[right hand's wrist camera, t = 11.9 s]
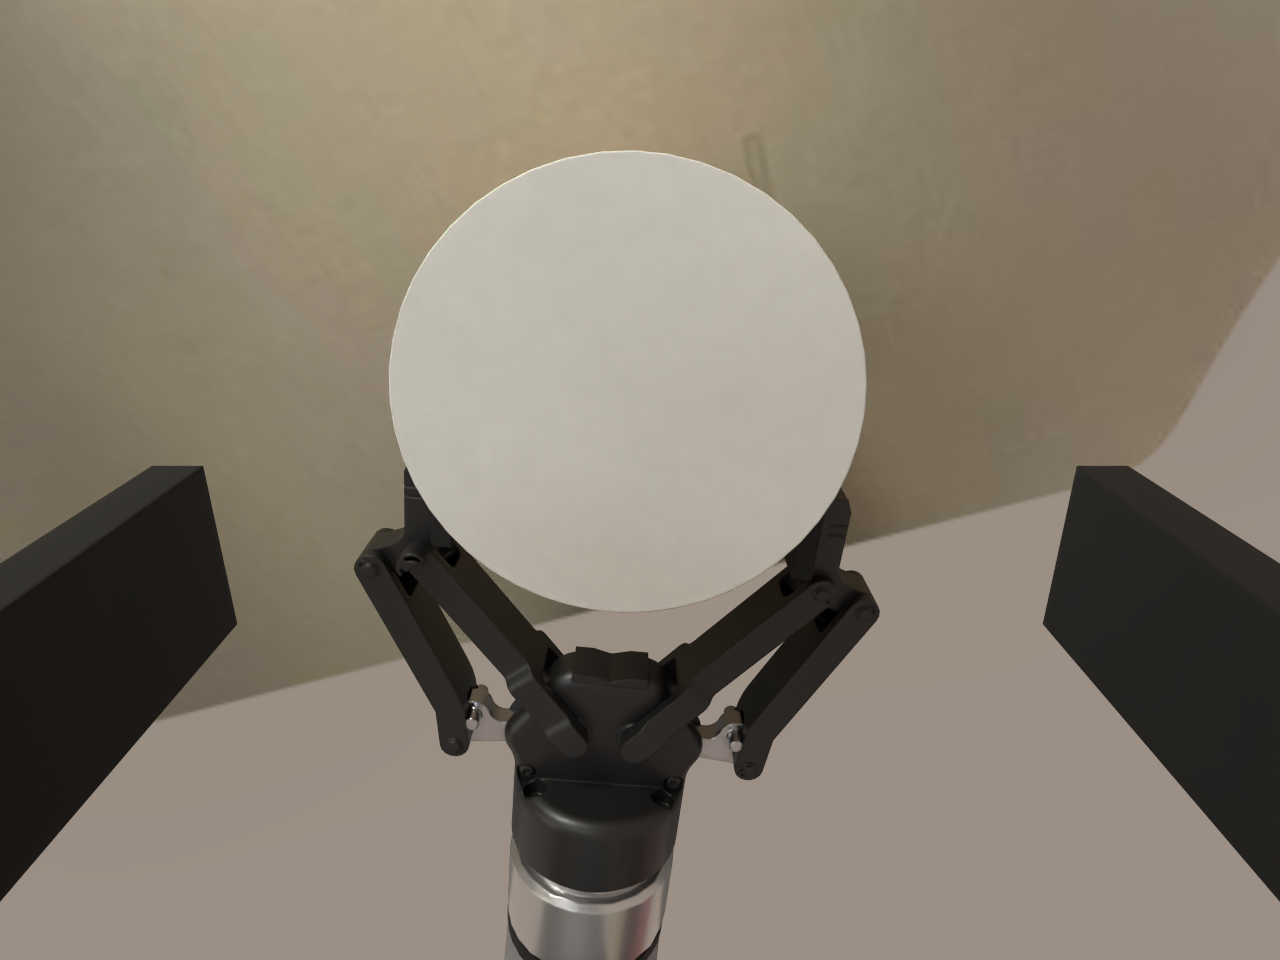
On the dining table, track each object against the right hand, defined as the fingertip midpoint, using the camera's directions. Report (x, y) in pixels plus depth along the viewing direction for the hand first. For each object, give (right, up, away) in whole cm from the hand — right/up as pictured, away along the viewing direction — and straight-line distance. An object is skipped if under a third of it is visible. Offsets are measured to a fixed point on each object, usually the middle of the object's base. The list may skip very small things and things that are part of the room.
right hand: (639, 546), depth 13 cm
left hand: (0, +4, +17) cm, 17 cm away
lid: (0, +3, +8) cm, 8 cm away
